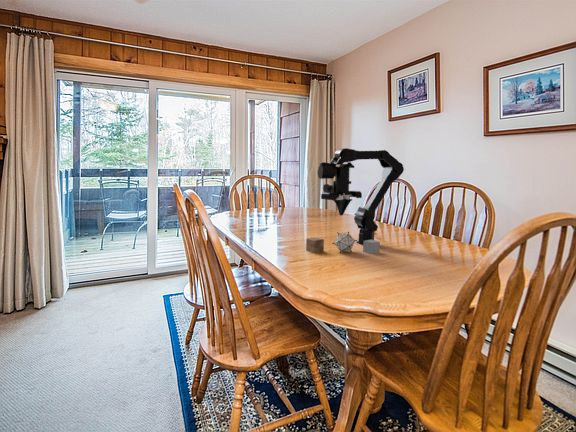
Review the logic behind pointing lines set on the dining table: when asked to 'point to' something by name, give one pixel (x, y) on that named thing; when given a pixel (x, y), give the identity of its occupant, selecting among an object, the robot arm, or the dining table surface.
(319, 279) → the dining table surface
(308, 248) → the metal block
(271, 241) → the dining table surface
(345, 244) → the game die
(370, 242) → the slate block
